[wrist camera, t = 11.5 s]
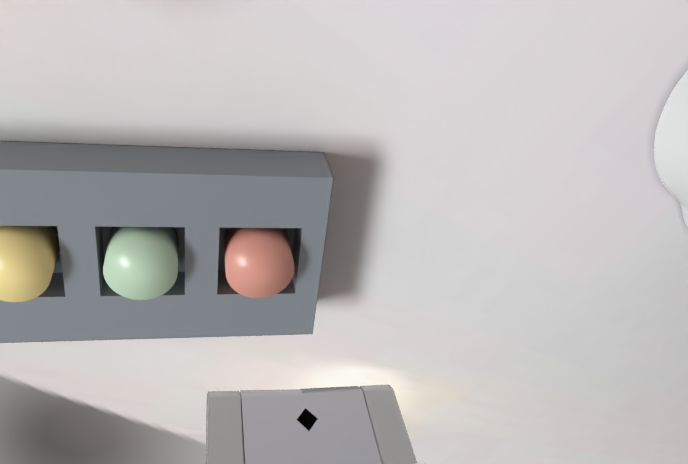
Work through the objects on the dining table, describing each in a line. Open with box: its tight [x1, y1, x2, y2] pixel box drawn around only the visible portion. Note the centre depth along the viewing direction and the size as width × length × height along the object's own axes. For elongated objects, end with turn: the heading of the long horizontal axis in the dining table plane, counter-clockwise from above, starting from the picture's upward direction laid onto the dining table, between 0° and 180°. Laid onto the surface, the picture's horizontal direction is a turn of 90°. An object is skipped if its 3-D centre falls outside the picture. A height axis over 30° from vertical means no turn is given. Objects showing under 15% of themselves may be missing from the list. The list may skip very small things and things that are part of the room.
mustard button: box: [0, 226, 60, 302], centre depth 38 cm, size 4×4×3 cm
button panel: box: [0, 141, 333, 343], centre depth 41 cm, size 22×12×4 cm, turn 83°
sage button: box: [103, 227, 179, 300], centre depth 40 cm, size 4×4×3 cm
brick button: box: [224, 228, 295, 298], centre depth 41 cm, size 4×4×3 cm
